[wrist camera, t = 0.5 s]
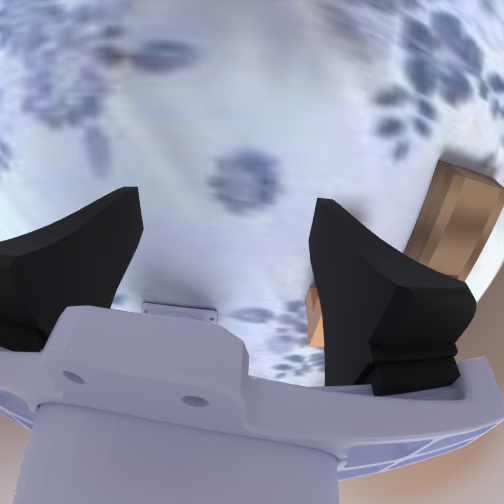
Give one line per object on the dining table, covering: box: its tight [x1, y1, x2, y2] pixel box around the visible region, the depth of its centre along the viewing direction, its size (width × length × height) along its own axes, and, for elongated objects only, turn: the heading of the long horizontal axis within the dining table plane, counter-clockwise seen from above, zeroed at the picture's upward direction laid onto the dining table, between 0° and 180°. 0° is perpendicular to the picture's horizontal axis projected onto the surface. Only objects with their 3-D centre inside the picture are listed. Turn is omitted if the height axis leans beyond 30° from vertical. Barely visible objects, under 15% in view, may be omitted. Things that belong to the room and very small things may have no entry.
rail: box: [403, 161, 504, 282], centre depth 27 cm, size 28×7×2 cm, turn 175°
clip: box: [305, 287, 324, 347], centre depth 24 cm, size 9×3×5 cm, turn 175°
